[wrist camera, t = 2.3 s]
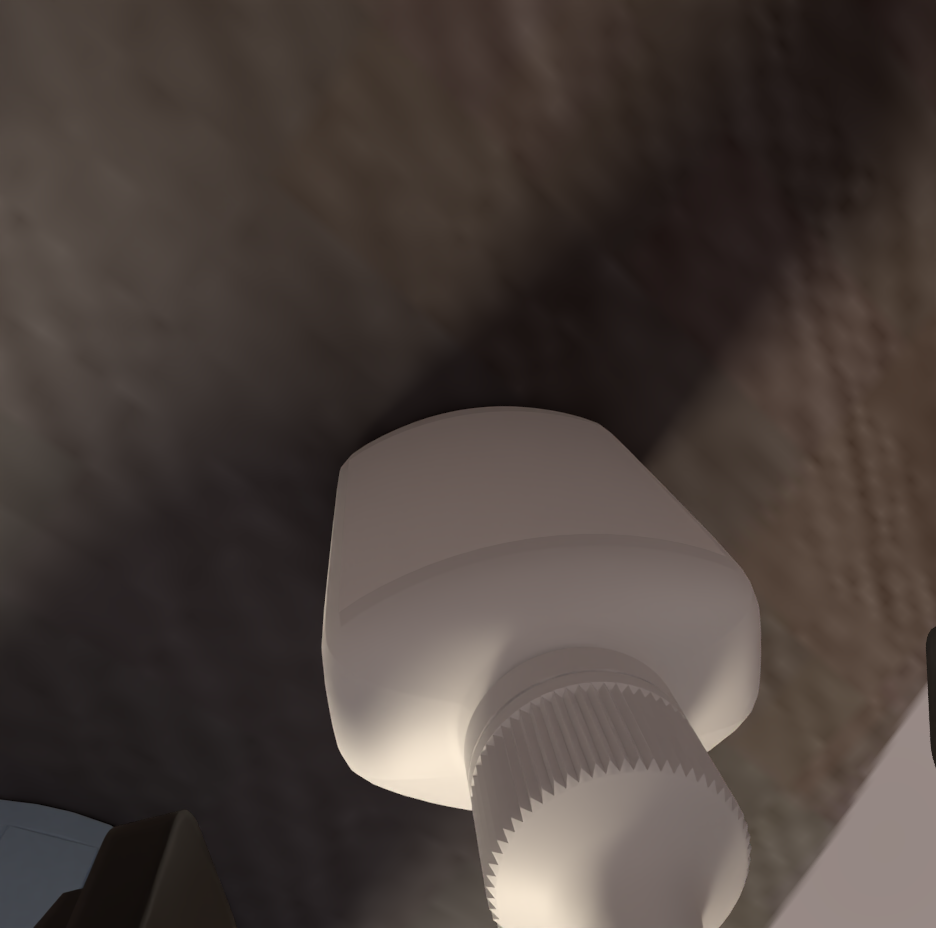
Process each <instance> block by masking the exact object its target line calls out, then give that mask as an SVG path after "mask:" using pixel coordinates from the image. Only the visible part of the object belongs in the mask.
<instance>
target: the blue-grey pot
mask: <svg viewBox="0 0 936 928" xmlns="http://www.w3.org/2000/svg"><path fill="white" fill-rule="evenodd" d="M112 828H113V826H111V825H109V824H106V823H103V822H100V821H97V820H94V819H91V818H89V817H86V816H83V815H80V814H77V813H74V812H70V811H65V810H61V809H57V808H52V807H48V806H44V805H39V804H33V803H25V802H16V801H8V800H0V928H33V927H34V926H35V925H36V924H37V923H38V921H39V920H40V919H41V918H42V917H43V916H44V914H45V913H46V912H47V911H48V910H49V909H50V907H51V906H52V905H53V904H54V903H55V902H56V900H57V899H58V898H59V897H60V896H61V895H62V893H65V892H69V891H73V890H77V889H81V888H83V886H84V884H85V882H86V879H87V877H88V875H89V872H90V870H91V868H92V865H93V863H94V861H95V858H96V856H97V854H98V851H99V849H100V847H101V844H102V842H103V840H104V838H105V836H106V834H107V833H108V831H109V830H110V829H112Z"/></svg>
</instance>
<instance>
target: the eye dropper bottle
mask: <svg viewBox="0 0 936 928" xmlns="http://www.w3.org/2000/svg"><path fill="white" fill-rule="evenodd" d="M321 649H322V659H323V669H324V679H325V687H326V693H327V699H328V705H329V710H330V715H331V721H332V726H333V730H334V734H335V738H336V742H337V746H338V748H339V751H340V753H341V754H342V756H343V758H344V759H345V761H346V762H347V764H348V765H349V767H350V769H351V770H352V771H354V772H355V773H356V774H358V775H359V776H361V777H363V778H364V779H366V780H367V781H369V782H371V783H372V784H374V785H377V786H379V787H382V788H384V789H387V790H390V791H393V792H395V793H398V794H401V795H405V796H408V797H412V798H416V799H419V800H423V801H427V802H430V803H435V804H439V805H444V806H449V807H454V808H460V809H466V810H472V812H473V818H474V824H475V830H476V836H477V842H478V848H479V855H480V861H481V867H482V873H483V879H484V885H485V891H486V897H487V899H488V905H489V909H490V910H491V911H492V916H493V920H494V921H495V922H497V925H498V928H719V927H720V926H721V925H722V923H723V922H724V921H725V919H726V918H727V917H728V915H729V914H730V912H731V911H732V909H733V907H734V906H735V904H736V902H737V900H738V899H739V897H740V895H741V893H742V892H741V891H742V889H743V887H744V885H745V883H746V877H747V875H748V872H749V868H748V866H749V863H750V861H751V858H750V856H749V855H750V851H751V846H750V844H749V841H750V835H749V833H748V831H747V828H748V825H747V823H746V821H745V820H744V814H743V812H742V811H741V809H740V807H739V805H738V803H737V801H736V800H735V798H734V796H733V795H732V793H731V791H730V790H729V788H728V786H727V785H726V783H725V781H724V780H723V778H722V776H721V775H720V773H719V771H718V770H717V768H716V766H715V765H714V763H713V761H712V760H711V758H710V756H709V755H708V753H707V752H708V751H709V750H711V749H712V748H713V747H715V746H716V745H717V744H718V743H720V742H721V741H722V740H723V739H725V738H726V737H727V736H729V735H730V734H731V733H733V732H734V731H735V730H736V729H737V728H738V727H739V726H740V724H741V723H742V722H743V721H744V720H745V719H746V718H747V717H748V715H749V714H750V713H751V711H752V709H753V706H754V704H755V701H756V698H757V696H758V691H759V682H760V671H761V624H760V612H759V606H758V602H757V598H756V596H755V593H754V590H753V588H752V585H751V582H750V581H749V579H748V578H747V576H746V574H745V573H744V571H743V570H742V568H741V567H740V566H739V565H738V564H737V563H736V561H735V560H734V559H733V558H732V557H731V556H730V555H729V554H728V553H727V551H726V550H725V549H724V548H723V547H722V546H721V545H720V544H719V543H718V541H717V540H716V539H715V538H714V537H713V536H712V535H711V534H710V533H709V532H708V531H707V530H706V529H705V528H704V527H703V526H702V524H701V523H700V522H699V521H698V520H697V519H696V518H695V517H694V516H693V515H692V514H691V513H690V512H689V511H688V510H687V509H686V508H685V507H684V506H683V505H682V504H681V503H680V502H679V501H678V500H677V499H676V498H675V497H674V496H673V495H672V494H671V493H670V492H669V491H668V490H667V488H666V487H665V486H664V485H663V484H662V483H661V482H660V481H659V480H658V479H657V478H656V477H655V476H654V475H653V474H652V473H651V472H650V471H649V470H648V469H647V468H646V467H645V466H644V465H643V464H642V463H641V462H640V461H639V460H638V459H637V458H636V457H635V456H634V455H633V454H632V453H631V452H630V451H629V450H628V449H627V448H626V447H625V446H624V445H623V444H622V443H621V442H620V441H619V440H618V439H617V438H616V437H615V436H614V435H613V434H612V433H610V432H609V431H608V430H607V429H605V428H604V427H603V426H601V425H600V424H598V423H596V422H593V421H590V420H588V419H585V418H582V417H579V416H575V415H571V414H567V413H562V412H557V411H552V410H546V409H538V408H530V407H516V406H494V407H479V408H470V409H464V410H457V411H452V412H448V413H443V414H439V415H436V416H432V417H428V418H425V419H422V420H419V421H416V422H413V423H411V424H408V425H406V426H403V427H401V428H398V429H396V430H394V431H392V432H390V433H388V434H385V435H383V436H381V437H379V438H377V439H376V440H374V441H372V442H370V443H368V444H366V445H365V446H363V447H362V448H360V449H359V450H357V451H356V452H354V453H353V454H352V455H351V456H350V457H349V458H348V459H347V461H346V462H345V463H344V464H343V466H342V467H341V469H340V473H339V479H338V485H337V494H336V502H335V511H334V520H333V529H332V538H331V547H330V556H329V566H328V576H327V586H326V595H325V605H324V618H323V633H322V648H321Z"/></svg>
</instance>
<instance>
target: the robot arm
mask: <svg viewBox="0 0 936 928" xmlns="http://www.w3.org/2000/svg"><path fill="white" fill-rule="evenodd" d="M926 659H927V679H928V698H929V699H928V700H929V721H930V741H931V751H932V756H933V760H934V763H935V767H936V627H934V628H933V629H931V631H930V632H929V634H928V637H927V642H926ZM33 928H237V926H236V923H235V920H234V917H233V914H232V911H231V909H230V906H229V903H228V901H227V898H226V896H225V893H224V890H223V888H222V885H221V882H220V880H219V877H218V875H217V872H216V869H215V867H214V864H213V862H212V859H211V856H210V854H209V851H208V848H207V846H206V843H205V841H204V838H203V835H202V833H201V830H200V828H199V825H198V823H197V821H196V819H195V817H194V816H193V815H192V814H191V812H189V811H188V810H181V811H177V812H172V813H168V814H164V815H160V816H156V817H152V818H148V819H144V820H140V821H136V822H132V823H128V824H124V825H120V826H116V827H113V828H112V829H110V830H109V831H108V833H107V834H106V836H105V838H104V840H103V842H102V844H101V847H100V849H99V851H98V854H97V856H96V858H95V861H94V863H93V865H92V868H91V870H90V872H89V875H88V877H87V879H86V882H85V884H84V886H83V888H81V889H77V890H73V891H69V892H65V893H62V895H61V896H60V897H59V898H58V899H57V900H56V902H55V903H54V904H53V905H52V906H51V907H50V909H49V910H48V911H47V912H46V913H45V914H44V916H43V917H42V918H41V919H40V920H39V921H38V923H37V924H36V925H35V926H34V927H33Z"/></svg>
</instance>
